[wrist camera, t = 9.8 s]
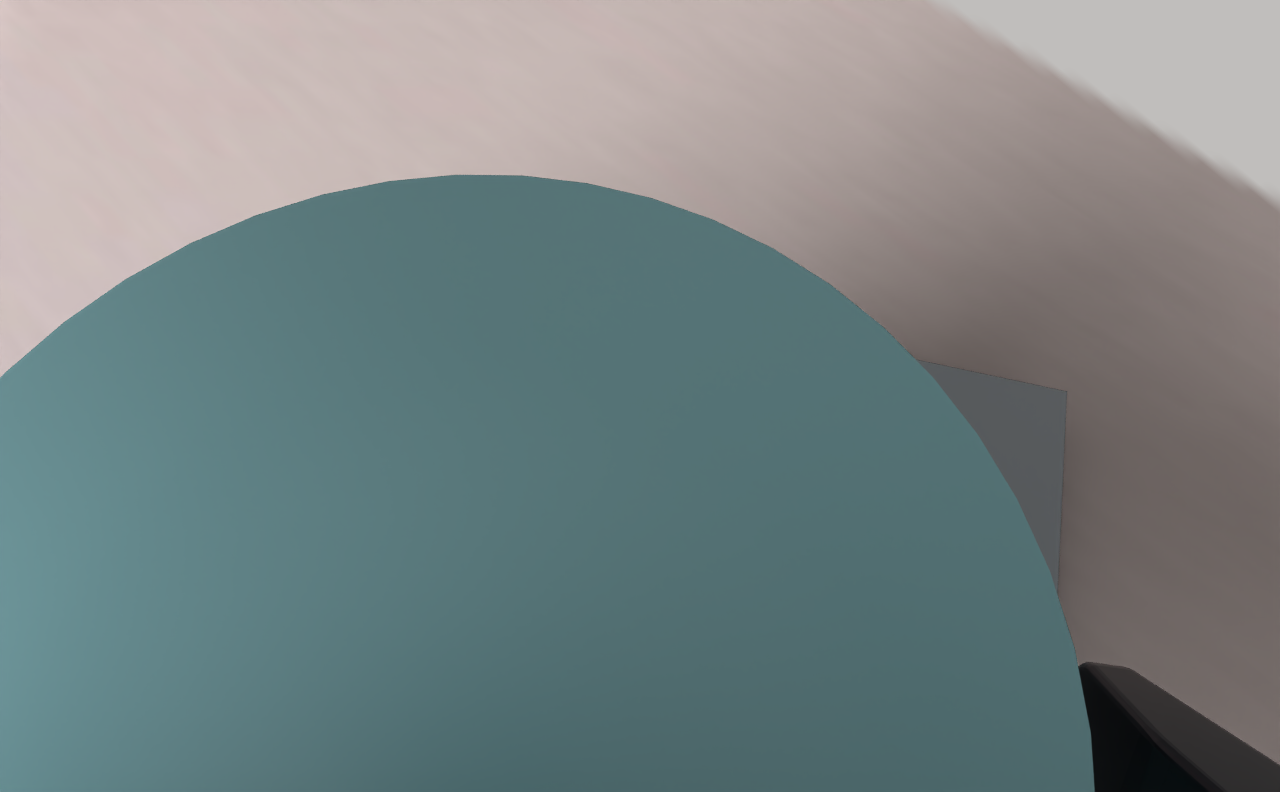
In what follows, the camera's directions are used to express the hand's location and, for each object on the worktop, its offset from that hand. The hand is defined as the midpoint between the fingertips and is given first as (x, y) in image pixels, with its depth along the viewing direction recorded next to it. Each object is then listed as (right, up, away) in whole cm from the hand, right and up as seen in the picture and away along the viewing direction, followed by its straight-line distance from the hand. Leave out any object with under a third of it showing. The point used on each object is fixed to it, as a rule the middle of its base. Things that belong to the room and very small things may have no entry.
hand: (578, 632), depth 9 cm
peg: (0, -4, +6) cm, 7 cm away
